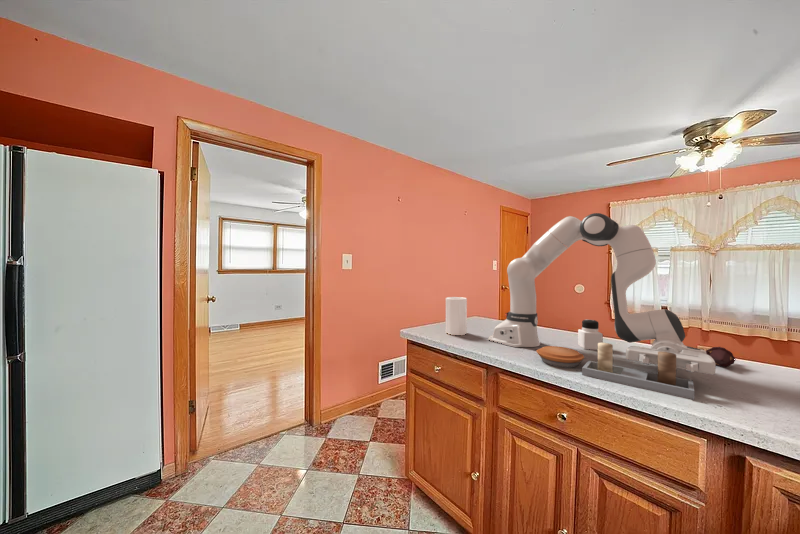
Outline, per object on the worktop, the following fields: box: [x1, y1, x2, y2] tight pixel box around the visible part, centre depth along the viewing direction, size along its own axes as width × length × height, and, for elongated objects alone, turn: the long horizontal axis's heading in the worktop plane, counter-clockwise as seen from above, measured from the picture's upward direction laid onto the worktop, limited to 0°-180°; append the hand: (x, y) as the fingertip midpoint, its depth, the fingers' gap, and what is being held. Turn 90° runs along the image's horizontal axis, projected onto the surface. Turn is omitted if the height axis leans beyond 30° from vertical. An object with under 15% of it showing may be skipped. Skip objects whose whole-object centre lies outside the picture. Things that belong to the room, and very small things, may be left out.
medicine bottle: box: [577, 319, 604, 351], centre depth 130 cm, size 7×7×12 cm
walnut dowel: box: [657, 352, 677, 386], centre depth 87 cm, size 4×4×10 cm
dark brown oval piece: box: [705, 346, 736, 368], centre depth 107 cm, size 7×7×15 cm
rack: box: [581, 360, 695, 401], centre depth 92 cm, size 26×10×2 cm, turn 47°
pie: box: [535, 345, 585, 369], centre depth 110 cm, size 16×16×5 cm
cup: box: [445, 296, 468, 336], centre depth 156 cm, size 11×11×18 cm
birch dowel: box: [597, 342, 614, 373], centre depth 97 cm, size 4×4×10 cm
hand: (666, 365), depth 86 cm, fingers open, 8 cm apart
